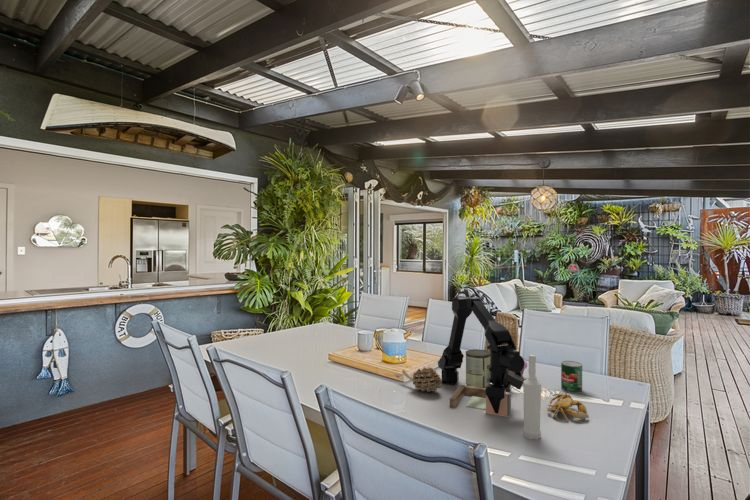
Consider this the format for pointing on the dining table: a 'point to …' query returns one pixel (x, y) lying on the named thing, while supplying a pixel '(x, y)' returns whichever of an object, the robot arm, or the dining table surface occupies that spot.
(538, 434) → the bottle
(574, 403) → the crab model
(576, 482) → the dining table surface
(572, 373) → the canned tomato
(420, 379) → the pine cone
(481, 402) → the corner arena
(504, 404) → the terracotta block
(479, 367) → the coffee can
